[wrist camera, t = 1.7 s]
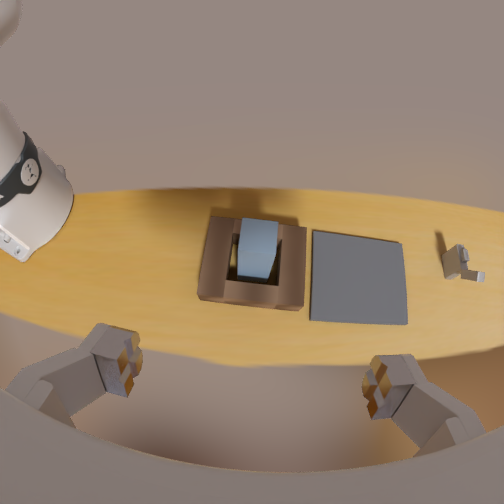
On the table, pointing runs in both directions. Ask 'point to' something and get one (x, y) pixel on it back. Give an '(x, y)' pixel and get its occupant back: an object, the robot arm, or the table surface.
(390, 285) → the rubber mat
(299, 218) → the table surface
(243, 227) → the peg
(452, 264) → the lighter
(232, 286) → the pocket holder
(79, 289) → the table surface
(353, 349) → the table surface
